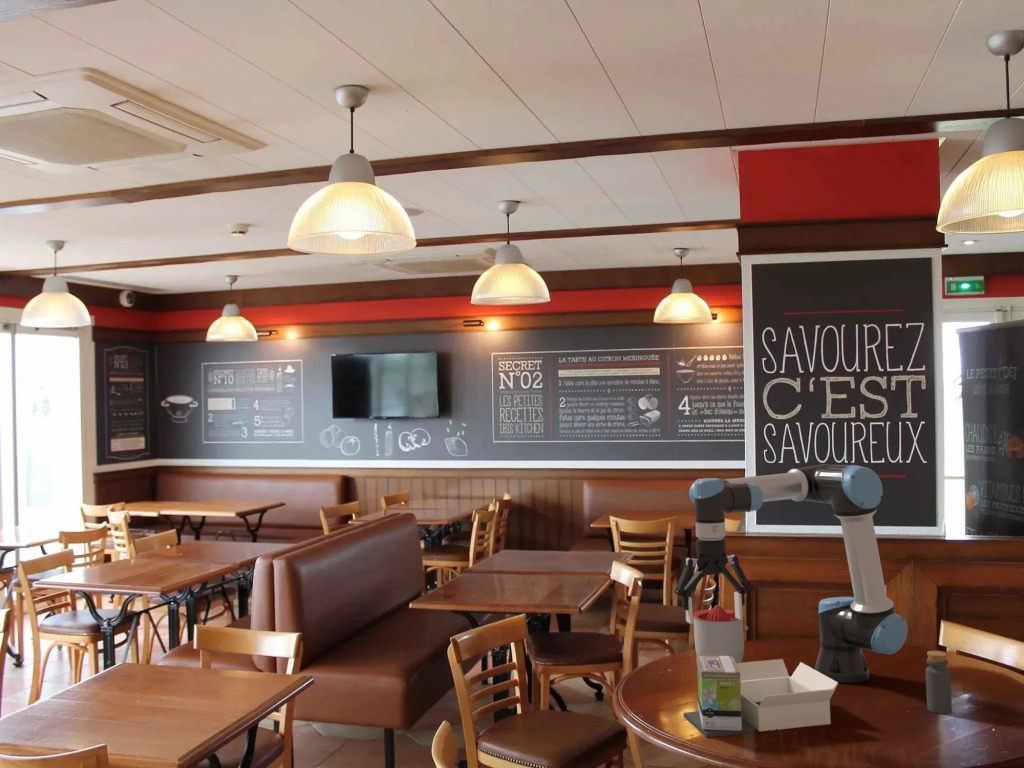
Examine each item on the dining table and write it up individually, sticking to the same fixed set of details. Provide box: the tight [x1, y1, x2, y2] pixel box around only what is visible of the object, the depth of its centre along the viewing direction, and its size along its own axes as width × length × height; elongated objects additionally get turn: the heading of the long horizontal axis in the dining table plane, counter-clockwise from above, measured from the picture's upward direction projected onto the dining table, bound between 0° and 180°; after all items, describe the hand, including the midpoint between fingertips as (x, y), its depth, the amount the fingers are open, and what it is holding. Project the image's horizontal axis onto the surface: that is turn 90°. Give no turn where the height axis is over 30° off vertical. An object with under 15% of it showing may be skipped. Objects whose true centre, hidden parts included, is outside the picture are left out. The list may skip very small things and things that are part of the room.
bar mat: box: [683, 710, 756, 738], centre depth 219 cm, size 13×15×1 cm
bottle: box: [925, 650, 953, 715], centre depth 224 cm, size 6×6×15 cm
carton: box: [736, 658, 839, 732], centre depth 225 cm, size 23×27×10 cm
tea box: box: [696, 655, 742, 731], centre depth 219 cm, size 15×10×15 cm, turn 172°
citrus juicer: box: [692, 604, 749, 663], centre depth 265 cm, size 16×17×20 cm
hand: (714, 620), depth 220 cm, fingers open, 13 cm apart
